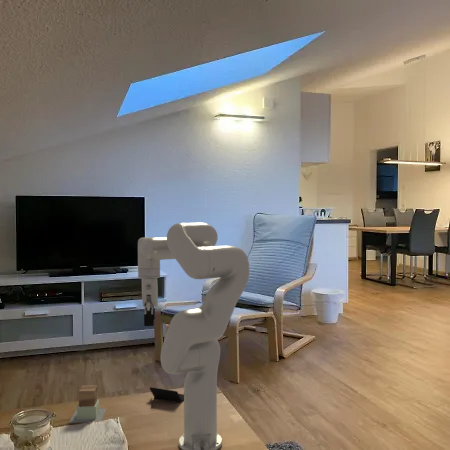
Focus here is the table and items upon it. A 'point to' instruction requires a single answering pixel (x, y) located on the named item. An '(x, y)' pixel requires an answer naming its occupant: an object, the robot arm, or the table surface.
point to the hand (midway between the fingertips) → (149, 322)
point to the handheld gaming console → (167, 395)
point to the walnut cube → (88, 395)
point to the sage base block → (88, 411)
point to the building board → (99, 418)
